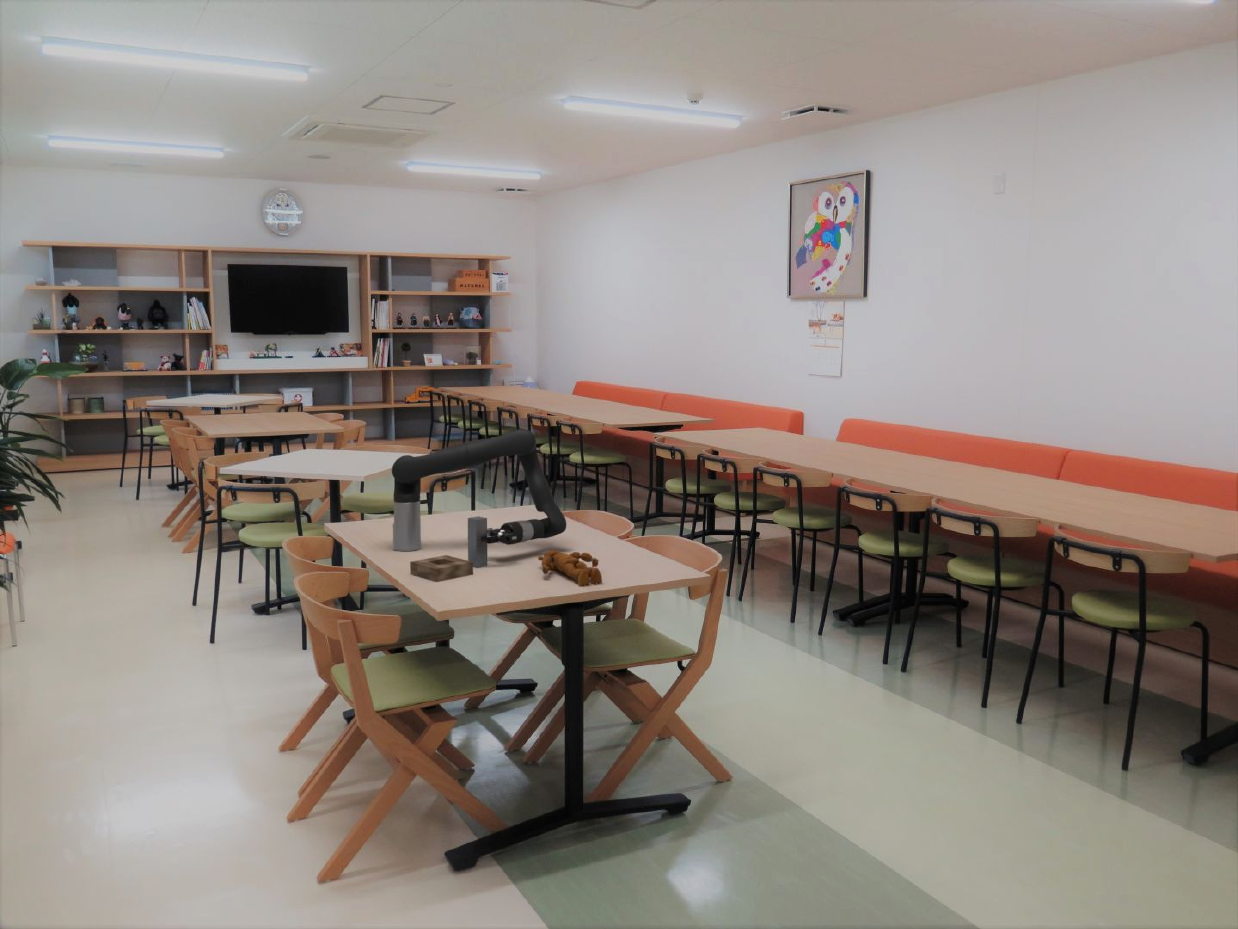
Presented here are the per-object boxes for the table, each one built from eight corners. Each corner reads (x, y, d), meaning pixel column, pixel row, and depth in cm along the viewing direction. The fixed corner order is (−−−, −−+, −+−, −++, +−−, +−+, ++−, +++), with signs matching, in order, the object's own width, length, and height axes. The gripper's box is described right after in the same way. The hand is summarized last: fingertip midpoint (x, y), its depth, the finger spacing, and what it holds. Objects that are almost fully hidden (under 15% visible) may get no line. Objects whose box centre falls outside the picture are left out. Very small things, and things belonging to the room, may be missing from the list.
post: (476, 568, 321) (476, 519, 319) (468, 565, 324) (467, 518, 322) (487, 565, 324) (487, 518, 322) (479, 563, 327) (478, 516, 325)
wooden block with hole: (436, 581, 302) (436, 569, 302) (410, 574, 312) (410, 561, 311) (472, 574, 312) (472, 562, 312) (446, 567, 322) (446, 555, 321)
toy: (618, 585, 305) (573, 562, 330) (619, 563, 304) (573, 542, 329) (562, 593, 295) (519, 569, 320) (562, 571, 294) (519, 548, 319)
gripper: (503, 518, 340) (466, 524, 328) (530, 524, 330) (493, 530, 318) (503, 539, 341) (466, 546, 329) (530, 546, 331) (493, 553, 319)
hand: (479, 538), depth 324 cm, fingers open, 8 cm apart
